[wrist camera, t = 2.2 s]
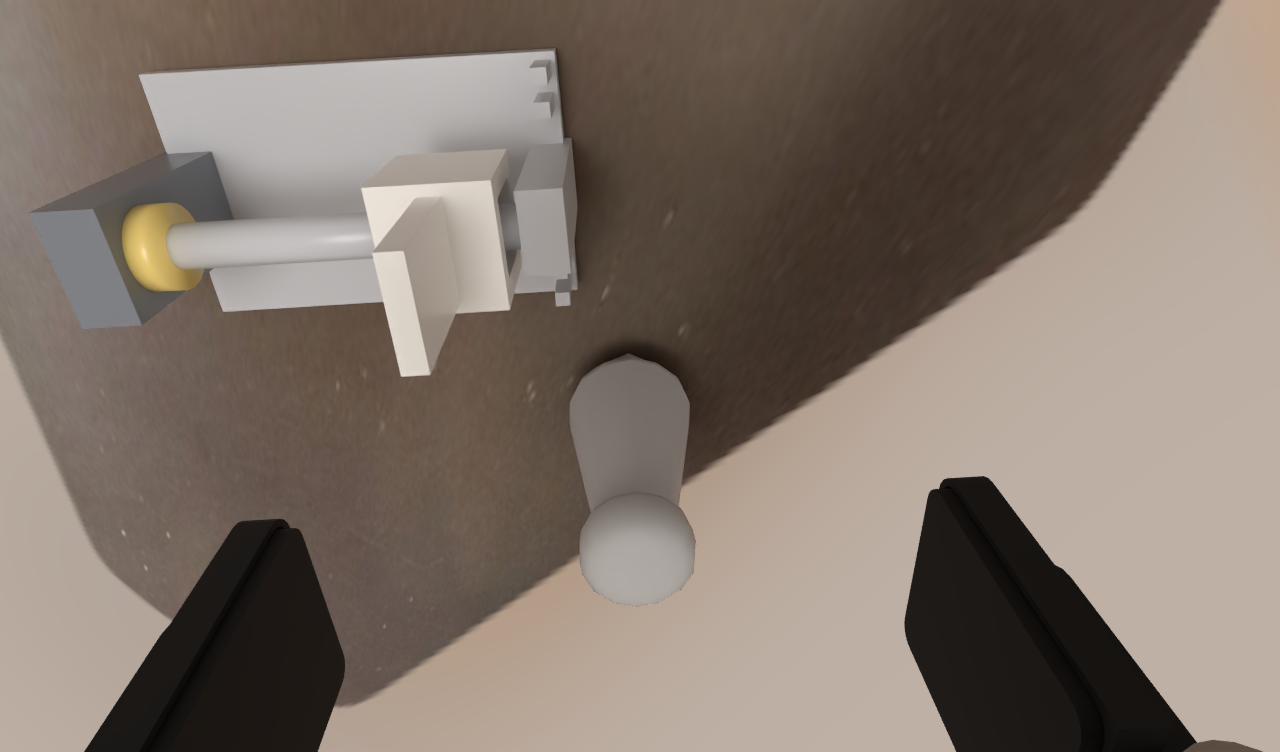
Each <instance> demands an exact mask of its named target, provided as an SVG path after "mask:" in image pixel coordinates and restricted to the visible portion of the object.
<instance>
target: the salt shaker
mask: <svg viewBox="0 0 1280 752" xmlns="http://www.w3.org/2000/svg"><path fill="white" fill-rule="evenodd" d="M689 412H690V403H689V400H688V398H687V396H686V394H685V392H684V390H683V387H682V385H681V383H680V381H679V379H678V378H677V377H676V376H675V375H674V374H672V373H671V372H669V371H668V370H666V369H665V368H663V367H662V366H660V365H659V364H658V363H655V362H651V361H647V360H643V359H641V358H639V357H637V356H634V355H632V354H630V353H628V354H625V355H623V356H620V357H618V358H616V359H613V360H611V361H608V362H605V363H603V364H601V365H599V366H597V367H595V368H594V369H592V370H591V371H590V372H589V373H587V374H586V375H585V376H583V377H582V379H581V381H580V383H579V385H578V387H577V389H576V391H575V393H574V395H573V397H572V399H571V401H570V429H571V433H572V437H573V441H574V445H575V450H576V454H577V458H578V462H579V466H580V470H581V474H582V478H583V482H584V487H585V491H586V495H587V499H588V503H589V507H590V511H591V514H590V516H589V518H588V520H587V521H586V523H585V525H584V526H583V528H582V530H581V536H580V566H581V570H582V575H583V576H584V578H585V579H586V580H587V582H588V583H589V585H590V586H591V587H592V589H593V590H594V591H595V592H596V593H598V594H600V595H602V596H604V597H605V598H607V599H609V600H610V601H612V602H615V603H618V604H624V605H631V606H643V605H648V604H654V603H659V602H660V601H663V600H664V599H666V598H667V597H669V596H671V595H672V594H674V593H676V592H678V591H679V590H681V589H682V587H683V586H684V585H685V583H686V582H687V581H688V579H689V578H690V577H691V575H692V574H693V570H694V557H695V542H696V541H695V537H694V533H693V529H692V527H691V526H690V524H689V522H688V520H687V518H686V516H685V514H684V512H683V511H682V510H681V508H680V507H679V499H680V491H681V483H682V475H683V468H684V460H685V452H686V444H687V437H688V429H689Z"/></svg>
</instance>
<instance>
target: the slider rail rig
mask: <svg viewBox="0 0 1280 752" xmlns="http://www.w3.org/2000/svg"><path fill="white" fill-rule="evenodd" d="M139 77H140V80H141V83H142V85H143V88H144V91H145V94H146V97H147V99H148V102H149V105H150V108H151V111H152V113H153V116H154V119H155V122H156V125H157V127H158V130H159V133H160V136H161V139H162V141H163V144H164V147H165V150H166V153H164V154H161V155H159V156H157V157H155V158H152V159H150V160H148V161H145V162H143V163H141V164H139V165H136V166H134V167H132V168H129V169H127V170H125V171H123V172H120V173H118V174H116V175H113V176H111V177H109V178H107V179H104V180H102V181H100V182H97V183H95V184H93V185H91V186H88V187H86V188H84V189H82V190H79V191H77V192H75V193H72V194H70V195H68V196H66V197H63V198H61V199H59V200H56V201H54V202H52V203H50V204H47V205H45V206H43V207H40V208H38V209H36V210H34V211H31V212H29V213H28V214H29V216H30V218H31V220H32V222H33V224H34V227H35V229H36V231H37V233H38V235H39V237H40V239H41V242H42V244H43V246H44V248H45V250H46V252H47V255H48V257H49V259H50V261H51V263H52V265H53V267H54V270H55V272H56V274H57V276H58V278H59V280H60V282H61V285H62V287H63V289H64V291H65V293H66V295H67V298H68V300H69V302H70V304H71V306H72V308H73V310H74V313H75V315H76V317H77V319H78V321H79V323H80V325H81V328H82V329H90V328H106V327H122V326H138V325H143V324H144V323H145V322H147V321H148V320H149V319H151V318H152V317H153V316H154V315H156V314H157V313H158V312H159V311H161V310H162V309H163V308H164V307H166V306H167V305H168V304H169V303H171V302H172V301H173V300H175V299H176V298H177V297H178V296H180V295H181V294H182V293H183V292H185V291H186V290H190V289H193V288H194V287H196V286H197V285H198V283H199V282H200V280H201V278H202V277H204V276H205V275H206V274H207V273H210V276H211V279H212V282H213V284H214V287H215V290H216V293H217V296H218V298H219V301H220V304H221V307H222V310H223V312H227V311H243V310H259V309H275V308H291V307H307V306H323V305H339V304H356V303H372V302H383V298H382V293H381V289H380V285H379V281H378V277H377V272H376V268H375V264H374V260H373V256H372V252H373V251H374V249H375V246H374V241H373V237H372V233H371V229H370V224H369V220H368V216H367V212H366V207H365V203H364V199H363V195H362V190H361V188H362V187H363V186H364V185H365V184H366V183H367V182H368V181H369V180H370V179H371V178H372V177H373V176H374V175H375V174H376V173H377V172H379V171H380V170H381V169H382V168H383V167H384V166H385V165H386V164H387V163H388V162H389V161H390V160H391V159H392V158H393V157H395V156H396V155H411V154H428V153H444V152H461V151H478V150H495V149H507V155H508V163H509V170H510V177H511V185H512V192H513V200H514V203H504V204H498V205H499V212H500V219H501V226H502V233H503V240H504V247H505V250H517V249H520V252H521V259H522V266H521V270H520V274H519V277H518V281H517V285H516V289H515V292H514V294H516V293H532V292H548V291H555V299H556V306H568V305H571V294H572V290H577V289H578V275H577V265H576V255H575V244H574V240H575V230H576V220H577V210H578V204H577V193H576V183H575V172H574V161H573V150H572V139H571V138H564V130H563V119H562V109H561V99H560V88H559V78H558V67H557V57H556V48H548V49H531V50H513V51H496V52H479V53H461V54H444V55H426V56H409V57H392V58H374V59H357V60H340V61H322V62H305V63H287V64H270V65H253V66H235V67H218V68H200V69H183V70H166V71H151V72H147V73H143V74H139Z"/></svg>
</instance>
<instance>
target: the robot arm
mask: <svg viewBox="0 0 1280 752" xmlns="http://www.w3.org/2000/svg"><path fill="white" fill-rule="evenodd" d="M905 633H906V638H907V642H908V645H909V647H910V650H911V652H912V654H913V656H914V658H915V661H916V663H917V665H918V667H919V670H920V672H921V674H922V676H923V678H924V681H925V683H926V685H927V687H928V690H929V692H930V694H931V696H932V698H933V701H934V703H935V705H936V707H937V710H938V712H939V714H940V716H941V719H942V721H943V723H944V725H945V727H946V730H947V732H948V734H949V736H950V739H951V741H952V743H953V745H954V747H955V750H956V752H1262V751H1260V750H1257V749H1254V748H1250V747H1248V746H1244V745H1242V744H1238V743H1235V742H1227V741H1217V740H1210V741H1204V742H1199V743H1197V742H1196V741H1195V739H1194V738H1193V737H1192V735H1191V734H1190V733H1189V731H1188V730H1187V729H1186V728H1185V726H1184V725H1183V724H1182V722H1181V721H1180V720H1179V718H1178V717H1177V716H1176V715H1175V713H1174V712H1173V711H1172V709H1171V708H1170V707H1169V705H1168V704H1167V703H1166V701H1165V700H1164V699H1163V697H1162V696H1161V695H1160V693H1159V692H1158V691H1157V690H1156V688H1155V687H1154V686H1153V684H1152V683H1151V682H1150V680H1149V679H1148V678H1147V677H1146V675H1145V674H1144V673H1143V671H1142V670H1141V669H1140V667H1139V666H1138V665H1137V663H1136V662H1135V661H1134V659H1133V658H1132V657H1131V656H1130V654H1129V653H1128V652H1127V651H1126V649H1125V648H1124V646H1123V645H1122V644H1121V642H1120V641H1119V640H1118V639H1117V637H1116V636H1115V635H1114V633H1113V632H1112V631H1111V629H1110V628H1109V627H1108V625H1107V624H1106V623H1105V621H1104V620H1103V619H1102V618H1101V616H1100V615H1099V614H1098V612H1097V611H1096V610H1095V608H1094V607H1093V606H1092V604H1091V603H1090V602H1089V600H1088V599H1087V598H1086V597H1085V595H1084V594H1083V593H1082V592H1081V590H1080V589H1079V587H1078V586H1077V585H1076V584H1075V582H1074V581H1073V580H1072V578H1071V577H1070V576H1069V575H1068V574H1067V573H1066V572H1065V571H1064V570H1063V569H1062V568H1060V567H1058V566H1056V565H1054V563H1053V562H1052V561H1051V560H1050V558H1049V557H1048V555H1047V554H1046V553H1045V551H1044V550H1043V549H1042V548H1041V546H1040V545H1039V543H1038V542H1037V541H1036V540H1035V538H1034V537H1033V536H1032V534H1031V533H1030V531H1029V530H1028V529H1027V528H1026V526H1025V525H1024V524H1023V522H1022V521H1021V520H1020V518H1019V517H1018V516H1017V514H1016V513H1015V512H1014V510H1013V509H1012V508H1011V507H1010V505H1009V504H1008V502H1007V501H1006V500H1005V498H1004V497H1003V496H1002V494H1001V493H1000V492H999V490H998V489H997V488H996V486H995V485H994V484H993V482H992V481H990V479H989V478H987V477H984V476H982V477H964V478H947V479H944V480H943V481H942V483H941V484H940V488H939V489H934V490H931V491H930V493H929V495H928V499H927V504H926V510H925V515H924V521H923V526H922V531H921V536H920V542H919V547H918V552H917V558H916V562H915V568H914V573H913V579H912V583H911V589H910V594H909V599H908V605H907V610H906V615H905ZM344 672H345V659H344V655H343V651H342V648H341V646H340V643H339V640H338V637H337V634H336V631H335V628H334V625H333V622H332V619H331V617H330V614H329V611H328V608H327V605H326V602H325V599H324V596H323V593H322V590H321V588H320V585H319V582H318V579H317V576H316V573H315V570H314V567H313V564H312V561H311V559H310V556H309V553H308V550H307V547H306V544H305V541H304V538H303V536H302V533H301V531H300V530H299V529H296V528H290V527H289V525H288V523H287V522H286V521H285V520H283V519H269V520H253V521H241V522H239V523H237V524H236V525H235V526H234V528H233V529H232V530H231V532H230V533H229V535H228V536H227V538H226V539H225V541H224V542H223V544H222V546H221V547H220V549H219V550H218V552H217V553H216V555H215V556H214V558H213V559H212V561H211V562H210V564H209V565H208V567H207V569H206V570H205V572H204V573H203V575H202V576H201V578H200V579H199V581H198V582H197V584H196V585H195V587H194V588H193V590H192V591H191V593H190V595H189V596H188V598H187V599H186V601H185V602H184V604H183V605H182V607H181V608H180V610H179V611H178V613H177V614H176V616H175V618H174V619H173V621H172V622H171V624H170V625H169V626H168V627H167V628H166V630H165V631H164V632H163V633H162V634H161V636H160V637H159V639H158V640H157V642H156V643H155V645H154V646H153V648H152V649H151V651H150V652H149V654H148V655H147V657H146V658H145V660H144V662H143V663H142V665H141V666H140V668H139V669H138V671H137V673H136V674H135V675H134V677H133V678H132V680H131V681H130V683H129V684H128V686H127V687H126V689H125V690H124V692H123V694H122V695H121V697H120V698H119V700H118V701H117V703H116V704H115V706H114V707H113V709H112V710H111V712H110V714H109V715H108V716H107V718H106V719H105V721H104V723H103V724H102V725H101V727H100V729H99V730H98V732H97V733H96V735H95V736H94V738H93V739H92V741H91V742H90V744H89V745H88V747H87V748H86V750H85V751H84V752H318V749H319V746H320V743H321V741H322V738H323V735H324V732H325V729H326V727H327V724H328V721H329V718H330V716H331V713H332V710H333V707H334V705H335V702H336V699H337V696H338V693H339V691H340V688H341V685H342V682H343V678H344Z"/></svg>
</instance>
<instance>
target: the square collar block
mask: <svg viewBox="0 0 1280 752" xmlns="http://www.w3.org/2000/svg"><path fill="white" fill-rule="evenodd" d="M361 190H362V195H363V199H364V203H365V207H366V212H367V216H368V220H369V224H370V229H371V233H372V237H373V241H374V246H375V249H374V251H373V252H372V256H373V260H374V264H375V268H376V272H377V277H378V281H379V285H380V289H381V293H382V298H383V302H384V306H385V310H386V314H387V319H388V323H389V327H390V331H391V335H392V340H393V344H394V348H395V352H396V356H397V361H398V365H399V369H400V373H401V377H404V376H419V375H430V374H431V372H432V369H433V367H434V365H435V362H436V360H437V357H438V355H439V353H440V350H441V348H442V345H443V343H444V341H445V338H446V336H447V333H448V331H449V329H450V326H451V324H452V321H453V319H454V317H455V314H456V313H471V312H487V311H503V310H510V307H511V304H512V300H513V296H514V292H515V289H516V285H517V281H518V277H519V274H520V270H521V266H522V259H521V252H520V249H517V250H505V247H504V240H503V233H502V226H501V219H500V212H499V205H498V204H504V203H514V200H513V192H512V185H511V177H510V170H509V163H508V155H507V149H495V150H478V151H461V152H444V153H428V154H411V155H396V156H395V157H393V158H392V159H391V160H390V161H389V162H388V163H387V164H386V165H385V166H384V167H383V168H382V169H381V170H380V171H379V172H377V173H376V174H375V175H374V176H373V177H372V178H371V179H370V180H369V181H368V182H367V183H366V184H365V185H364V186H363V187H362V188H361Z"/></svg>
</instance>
